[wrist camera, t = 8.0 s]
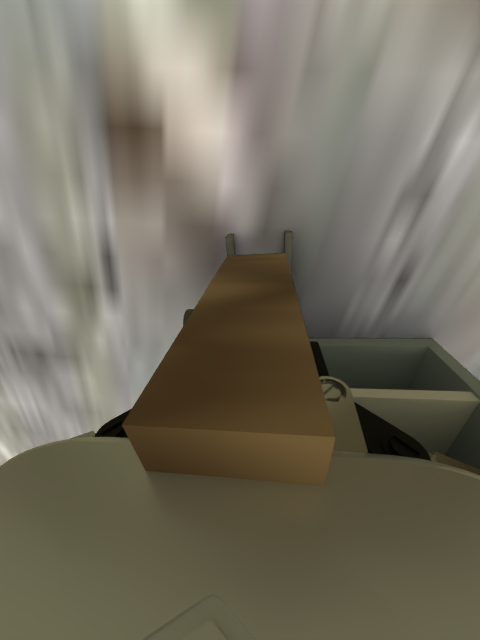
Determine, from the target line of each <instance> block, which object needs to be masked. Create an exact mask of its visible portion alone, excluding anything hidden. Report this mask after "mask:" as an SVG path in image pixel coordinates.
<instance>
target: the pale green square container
mask: <svg viewBox="0 0 480 640" xmlns="http://www.w3.org/2000/svg"><path fill="white" fill-rule="evenodd" d="M292 240H293V232H292V231H285V248H284V253H285V254H286V258H287V261H288V265H289V269H290V272H291V264H292ZM226 247H227V256H230V255H235V244H234V234H228V235H227V236H226ZM309 341H317V342H318V343H319V346H320V349H321V352H322V355H323V358H324V361H325V364H326V367H327V370H328V373H329V376H330V377H335V378H337V379H340V380H341V381H343V382H344V383H346V385H347V386H348V387H349V388H350V390H351V393H352V396H353V400H354V402H356V403H357V404H359V405H361V406H362V407H364V408H365V409H367V410H369V411H370V412H372V413H374V414H375V415H377V416H379V417H380V418H382V419H383V420H385V421H387V422H388V423H390V424H392V425H393V426H395V427H397V428H398V429H400V430H401V431H403V432H405V433H406V434H408V435H410V436H411V437H413V438H414V439H415V440H417V441H418V442H419V443H420V444H421V445H422V446H423V447H424V448H425V449H426V451H427V452H429V453H431V454H434V453H435V451H436V452H438V453H440V454H443V455H445V456H448V457H450V458H452V459H455V460H457V461H460V462H462V463H464V464H467V465H469V466H472V467H474V468H476V469H479V470H480V381H479V380H478V379H477V378H476V377H474V376H473V375H472V374H471V373H470V372H469V371H468V370H467V369H466V368H464V367H463V366H462V365H461V364H460V363H459V362H458V361H457V360H456V359H454V358H453V357H452V356H451V355H450V354H449V353H448V352H447V351H446V350H444V349H443V348H442V347H441V346H440V345H439V344H438V343H437V342H436V341H434V340H433V339H415V338H309Z"/></svg>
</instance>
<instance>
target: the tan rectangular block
mask: <svg viewBox="0 0 480 640" xmlns="http://www.w3.org/2000/svg"><path fill="white" fill-rule="evenodd" d="M122 427H123V428H124V430H125V432H126V434H127V436H128V438H129V440H130V442H131V444H132V446H133V448H134V450H135V452H136V454H137V456H138V457H139V459H140V461H141V463H142V465H143V467H144V469H145V471H153V472H165V473H178V474H190V475H203V476H215V477H227V478H239V479H251V480H262V481H273V482H285V483H296V484H308V485H319V486H325V482H326V478H327V473H328V469H329V464H330V460H331V456H332V451H333V447H334V442H335V438H336V437H335V433H334V429H333V426H332V422H331V418H330V415H329V411H328V407H327V404H326V400H325V397H324V393H323V389H322V386H321V382H320V378H319V375H318V371H317V367H316V364H315V360H314V356H313V353H312V349H311V345H310V342H309V338H308V334H307V331H306V327H305V324H304V320H303V316H302V313H301V309H300V305H299V302H298V298H297V294H296V291H295V287H294V283H293V280H292V276H291V272H290V269H289V265H288V261H287V258H286V254H285V253H273V254H251V255H230V256H227V257H226V259H225V261H224V262H223V264H222V265H221V267H220V269H219V270H218V272H217V273H216V275H215V277H214V278H213V280H212V281H211V283H210V285H209V286H208V288H207V289H206V291H205V293H204V294H203V296H202V297H201V299H200V301H199V302H198V304H197V305H196V307H195V309H188V310H186V312H185V314H184V320H183V328H182V329H181V331H180V333H179V334H178V336H177V337H176V339H175V341H174V342H173V344H172V345H171V347H170V349H169V350H168V352H167V353H166V355H165V357H164V358H163V360H162V361H161V363H160V365H159V366H158V368H157V369H156V371H155V373H154V374H153V376H152V377H151V379H150V381H149V382H148V384H147V386H146V387H145V389H144V390H143V392H142V394H141V395H140V397H139V398H138V400H137V402H136V403H135V405H134V406H133V408H132V410H131V411H130V413H129V414H128V416H127V418H126V419H125V421H124V422H123V424H122Z"/></svg>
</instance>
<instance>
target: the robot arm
mask: <svg viewBox="0 0 480 640" xmlns="http://www.w3.org/2000/svg"><path fill="white" fill-rule="evenodd" d="M309 342H310V345H311V349H312V353H313V356H314V360H315V364H316V367H317V371H318V375H319V378H320V382H321V386H322V389H323V393H324V397H325V400H326V404H327V407H328V411H329V415H330V418H331V422H332V426H333V429H334V433H335V437H336V438H335V442H334V447H333V451H332V456H331V460H330V464H329V469H328V473H327V478H326V482H325V486H319V485H308V484H296V483H285V482H273V481H262V480H251V479H239V478H227V477H215V476H203V475H190V474H178V473H165V472H153V471H145V469H144V467H143V465H142V463H141V461H140V459H139V457H138V456H137V454H136V452H135V450H134V448H133V446H132V444H131V442H130V440H129V438H128V436H127V434H126V432H125V430H124V428H123V427H122V424H123V422H124V421H125V419H126V418H127V416H128V414H129V413H130V411H131V410H132V409H130V410H128V411H127V412H125V413H123V414H121V415H119V416H118V417H116V418H114V419H112V420H110V421H109V422H107V423H106V424H104V425H103V426H102V427H101V428H100V429H99V430H98V432H97V433H94V431H91V432H88V433H85V434H82V435H79V436H76V437H73V438H71V439H67V440H61V441H56V442H52V443H48V444H45V445H41V446H38V447H35V448H32V449H30V450H27V451H25V452H23V453H21V454H18V455H17V456H15V457H13V458H11V459H10V460H8V461H7V462H5V463H4V464H3V465H1V466H0V640H480V470H479V469H476V468H474V467H472V466H469V465H467V464H464V463H462V462H460V461H457V460H455V459H452V458H450V457H448V456H445V455H443V454H440V453H438V452H436V451H435V453H434V454H431V453H429V452H427V451H426V449H425V448H424V447H423V446H422V445H421V444H420V443H419V442H418V441H417V440H415V439H414V438H413V437H411V436H410V435H408V434H406V433H405V432H403V431H401V430H400V429H398V428H397V427H395V426H393V425H392V424H390V423H388V422H387V421H385V420H383V419H382V418H380V417H379V416H377V415H375V414H374V413H372V412H370V411H369V410H367V409H365V408H364V407H362V406H361V405H359V404H357V403H356V402H354V400H353V396H352V393H351V390H350V388H349V387H348V386H347V385H346V383H344V382H343V381H341V380H340V379H337V378H335V377H330V376H329V373H328V370H327V367H326V364H325V361H324V358H323V355H322V352H321V349H320V346H319V343H318V342H317V341H309Z"/></svg>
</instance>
